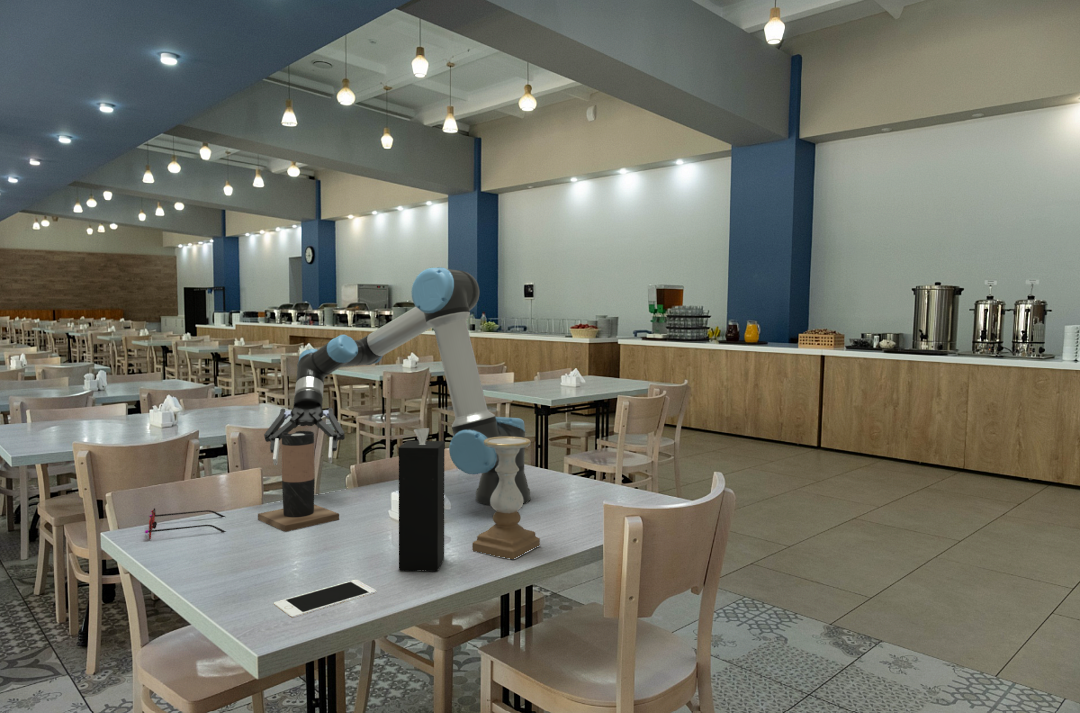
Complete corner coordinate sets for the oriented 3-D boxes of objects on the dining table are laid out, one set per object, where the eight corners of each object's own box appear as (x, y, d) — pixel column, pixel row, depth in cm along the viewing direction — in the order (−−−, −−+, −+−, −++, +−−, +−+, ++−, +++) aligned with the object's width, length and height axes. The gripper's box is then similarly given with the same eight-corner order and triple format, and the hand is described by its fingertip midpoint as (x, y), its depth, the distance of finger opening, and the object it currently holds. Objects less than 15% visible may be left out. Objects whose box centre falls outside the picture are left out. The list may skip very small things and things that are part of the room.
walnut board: (339, 519, 170) (339, 513, 170) (285, 531, 160) (285, 525, 160) (310, 508, 180) (310, 502, 180) (258, 519, 170) (258, 513, 170)
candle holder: (513, 560, 142) (513, 446, 141) (471, 550, 148) (471, 441, 147) (541, 546, 152) (542, 438, 151) (500, 537, 158) (501, 434, 156)
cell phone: (272, 605, 120) (272, 602, 120) (356, 582, 131) (356, 579, 131) (291, 620, 114) (291, 616, 114) (377, 594, 125) (377, 590, 125)
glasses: (149, 526, 165) (149, 505, 165) (225, 518, 172) (225, 498, 172) (144, 543, 152) (144, 521, 152) (226, 534, 159) (226, 513, 159)
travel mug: (308, 518, 166) (307, 435, 165) (277, 517, 166) (276, 435, 165) (319, 509, 174) (318, 430, 173) (289, 508, 174) (288, 430, 173)
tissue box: (407, 557, 144) (407, 424, 142) (444, 558, 143) (445, 425, 142) (398, 571, 136) (398, 430, 134) (437, 572, 135) (438, 431, 134)
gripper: (355, 404, 197) (353, 467, 184) (262, 405, 192) (253, 470, 178) (354, 387, 192) (352, 451, 178) (259, 389, 186) (249, 454, 173)
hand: (302, 461), depth 178 cm, fingers open, 13 cm apart
